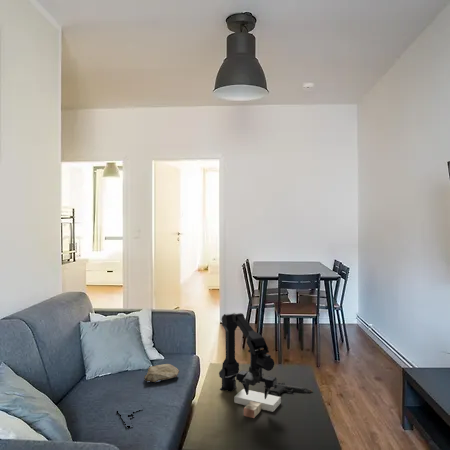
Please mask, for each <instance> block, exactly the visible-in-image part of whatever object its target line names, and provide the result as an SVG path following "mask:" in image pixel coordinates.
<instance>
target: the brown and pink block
mask: <svg viewBox="0 0 450 450" xmlns="http://www.w3.org/2000/svg"><path fill="white" fill-rule="evenodd" d="M261 411H262V409H261V403H257V402H252V401H251V402H250V403H249V404H248V405H247V406H246V405H245V406H244V407H243V417H247V418H251V419H252V418H253V419H255V417H256V416H257V415H259V414H260V412H261Z"/></svg>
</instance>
